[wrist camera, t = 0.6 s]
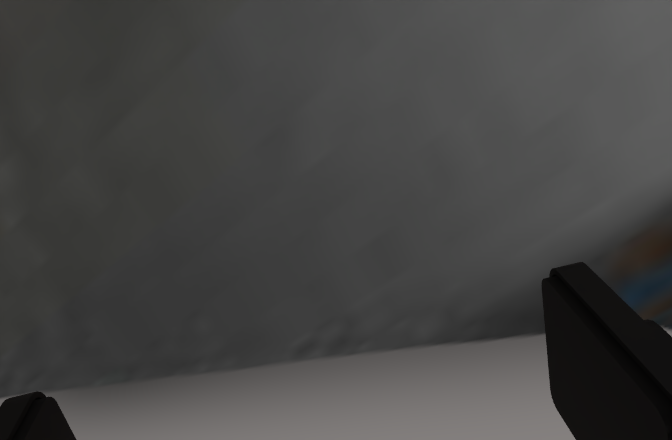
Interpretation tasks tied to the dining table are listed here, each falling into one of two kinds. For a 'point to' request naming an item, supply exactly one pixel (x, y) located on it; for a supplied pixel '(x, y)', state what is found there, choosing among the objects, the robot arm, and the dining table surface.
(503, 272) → the dining table surface
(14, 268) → the dining table surface
